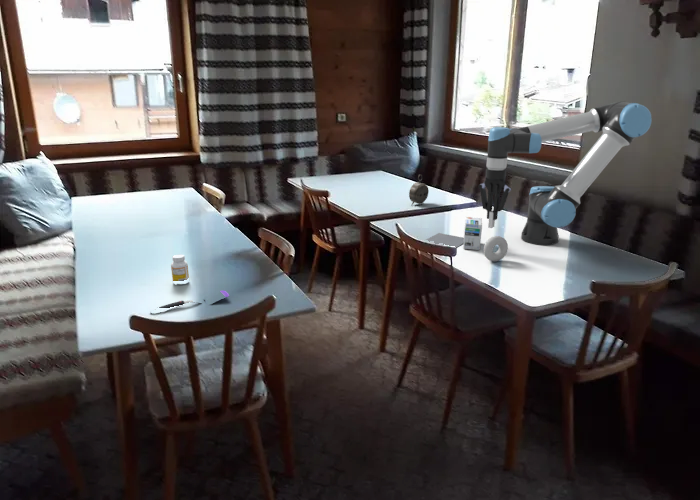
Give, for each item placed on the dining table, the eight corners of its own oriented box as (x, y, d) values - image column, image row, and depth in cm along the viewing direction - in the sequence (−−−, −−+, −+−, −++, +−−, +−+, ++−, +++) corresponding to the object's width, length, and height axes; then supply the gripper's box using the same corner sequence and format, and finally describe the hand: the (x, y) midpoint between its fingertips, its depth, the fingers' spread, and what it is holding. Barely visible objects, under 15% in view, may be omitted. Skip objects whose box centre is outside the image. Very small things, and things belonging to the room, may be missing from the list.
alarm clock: (422, 202, 302) (423, 172, 297) (429, 204, 298) (431, 174, 293) (408, 205, 295) (409, 175, 290) (415, 207, 291) (416, 176, 286)
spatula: (152, 319, 166) (151, 311, 165) (148, 310, 171) (147, 303, 171) (230, 302, 177) (230, 295, 176) (224, 295, 183) (223, 288, 182)
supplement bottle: (179, 279, 195) (176, 252, 192) (192, 281, 193) (189, 254, 190) (169, 284, 191) (166, 257, 188) (182, 286, 189) (179, 259, 186)
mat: (470, 239, 238) (470, 238, 238) (453, 249, 226) (453, 248, 226) (438, 233, 247) (438, 233, 247) (421, 242, 235) (421, 241, 234)
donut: (503, 258, 216) (505, 233, 212) (508, 261, 212) (511, 236, 209) (480, 261, 213) (482, 236, 209) (485, 264, 209) (487, 238, 206)
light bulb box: (479, 250, 224) (482, 224, 221) (462, 249, 226) (465, 223, 222) (479, 242, 234) (482, 217, 231) (463, 240, 236) (465, 216, 232)
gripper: (516, 168, 214) (510, 227, 222) (484, 165, 222) (479, 222, 229) (509, 171, 209) (503, 232, 216) (476, 168, 216) (472, 226, 223)
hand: (491, 227), depth 223 cm, fingers closed
